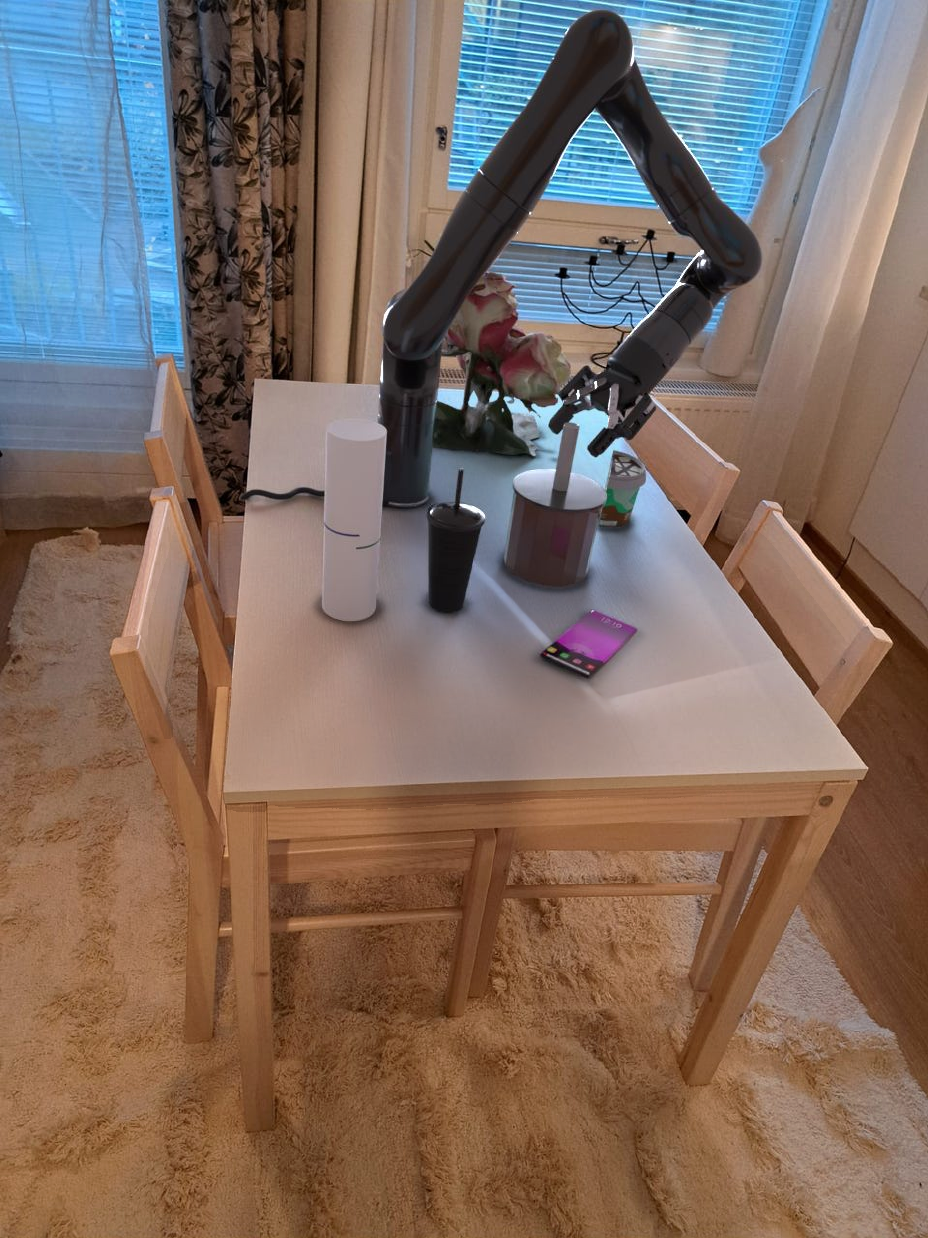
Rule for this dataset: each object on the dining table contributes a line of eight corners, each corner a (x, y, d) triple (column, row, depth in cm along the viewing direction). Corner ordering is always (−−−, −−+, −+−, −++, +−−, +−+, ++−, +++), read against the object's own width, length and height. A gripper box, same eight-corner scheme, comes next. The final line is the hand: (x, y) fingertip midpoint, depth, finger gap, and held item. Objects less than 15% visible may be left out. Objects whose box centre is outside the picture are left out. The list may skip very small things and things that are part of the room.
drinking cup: (433, 623, 116) (447, 485, 105) (409, 594, 122) (420, 459, 111) (483, 613, 120) (502, 478, 109) (457, 585, 125) (473, 454, 114)
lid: (542, 522, 118) (555, 447, 112) (495, 480, 128) (505, 410, 122) (624, 511, 124) (640, 440, 118) (573, 472, 134) (586, 404, 128)
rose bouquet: (561, 462, 168) (590, 301, 152) (409, 445, 167) (422, 281, 150) (551, 415, 190) (575, 270, 173) (416, 400, 188) (429, 252, 172)
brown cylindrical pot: (529, 595, 125) (543, 516, 118) (489, 553, 134) (500, 478, 127) (602, 582, 130) (619, 506, 124) (558, 543, 140) (572, 470, 133)
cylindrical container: (323, 591, 120) (327, 416, 106) (375, 593, 121) (386, 420, 107) (320, 620, 114) (324, 438, 100) (375, 622, 115) (387, 442, 101)
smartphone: (537, 658, 112) (538, 653, 111) (590, 612, 123) (591, 607, 122) (587, 682, 109) (589, 676, 108) (637, 632, 120) (638, 627, 119)
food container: (634, 539, 144) (647, 483, 138) (597, 532, 144) (609, 476, 139) (636, 508, 154) (649, 455, 149) (601, 501, 155) (613, 448, 149)
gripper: (604, 320, 123) (527, 407, 124) (676, 351, 114) (593, 445, 114) (623, 355, 129) (550, 438, 129) (694, 387, 119) (615, 476, 120)
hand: (571, 441), depth 122 cm, fingers open, 8 cm apart
